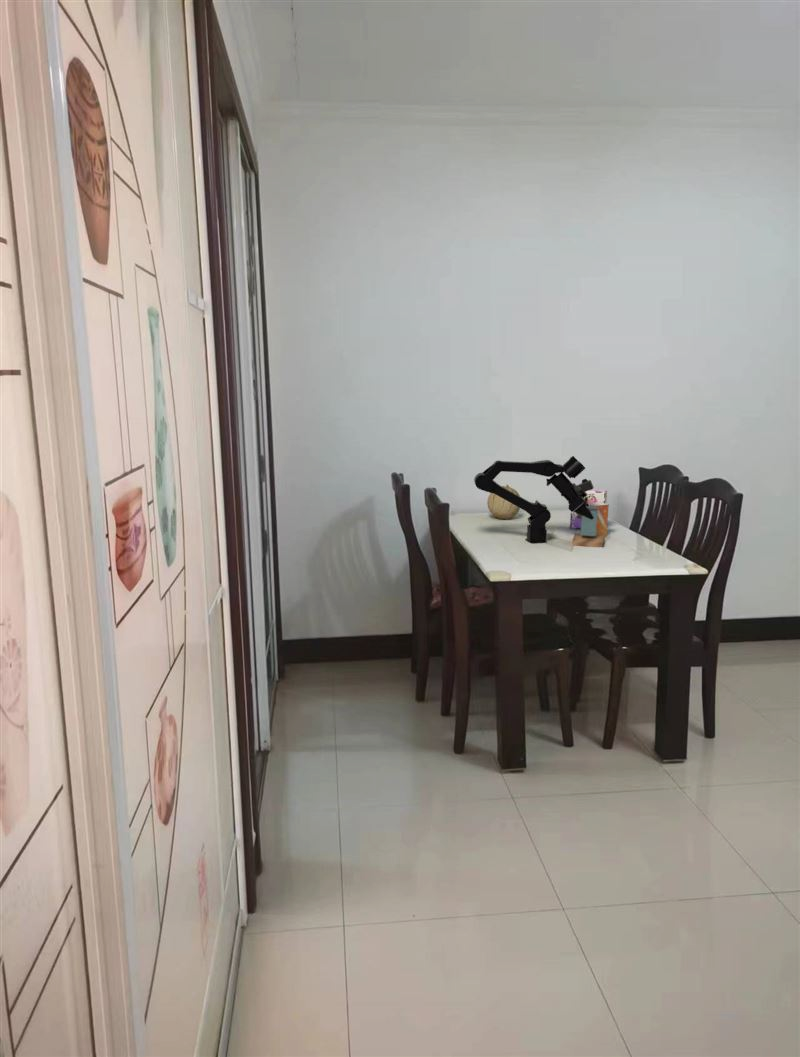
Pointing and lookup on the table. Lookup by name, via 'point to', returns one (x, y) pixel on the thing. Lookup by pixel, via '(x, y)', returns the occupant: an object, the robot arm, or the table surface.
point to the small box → (601, 517)
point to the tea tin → (589, 522)
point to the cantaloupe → (502, 505)
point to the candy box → (592, 498)
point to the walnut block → (588, 540)
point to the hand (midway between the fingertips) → (593, 517)
